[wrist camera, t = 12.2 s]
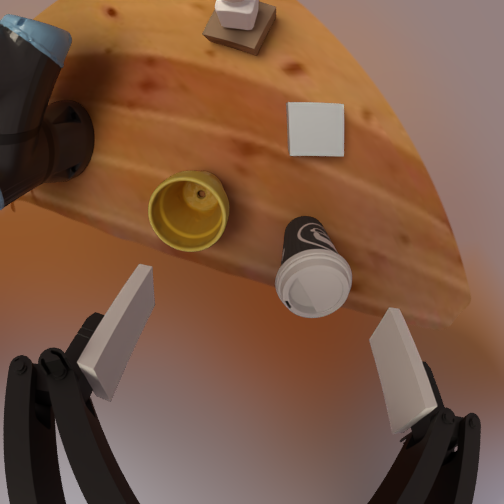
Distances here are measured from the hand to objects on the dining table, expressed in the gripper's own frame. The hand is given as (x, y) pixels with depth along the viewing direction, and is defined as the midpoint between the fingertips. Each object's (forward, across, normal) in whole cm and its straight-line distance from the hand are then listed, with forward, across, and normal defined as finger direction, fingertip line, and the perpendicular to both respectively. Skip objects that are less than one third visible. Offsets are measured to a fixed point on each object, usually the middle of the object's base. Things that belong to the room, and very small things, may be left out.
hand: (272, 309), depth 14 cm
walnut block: (+29, -8, +21) cm, 37 cm away
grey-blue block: (+29, +4, +8) cm, 30 cm away
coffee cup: (+29, +7, -9) cm, 31 cm away
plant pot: (+29, -10, -5) cm, 31 cm away
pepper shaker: (+24, -8, +21) cm, 33 cm away
